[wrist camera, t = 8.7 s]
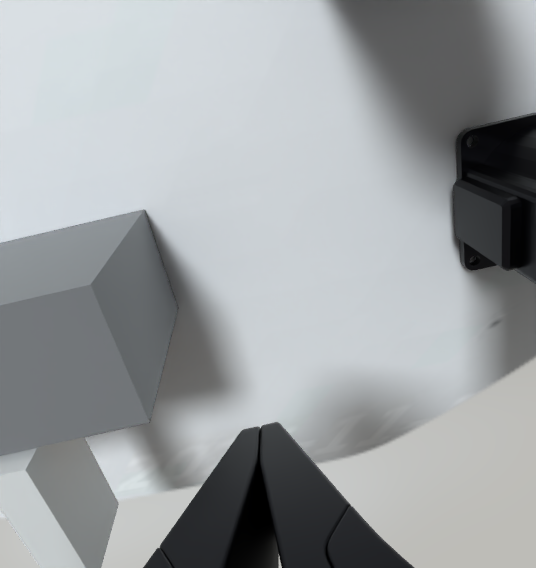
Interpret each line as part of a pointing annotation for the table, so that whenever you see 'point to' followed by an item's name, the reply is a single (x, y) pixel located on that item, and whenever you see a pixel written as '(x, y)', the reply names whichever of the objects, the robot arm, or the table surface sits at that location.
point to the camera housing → (81, 331)
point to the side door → (58, 504)
